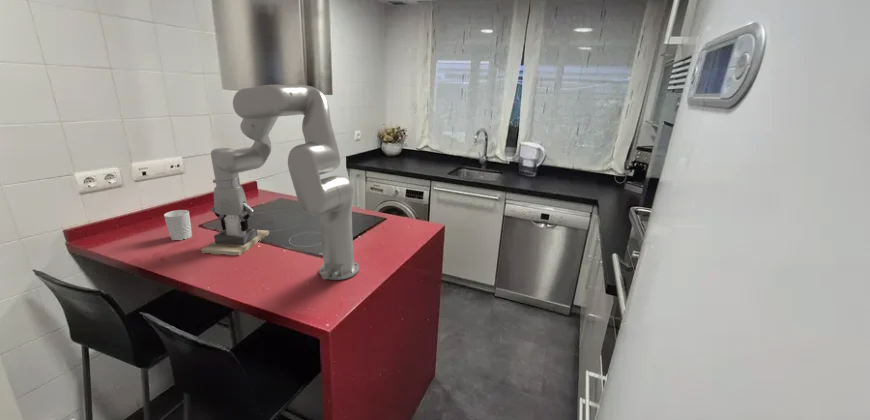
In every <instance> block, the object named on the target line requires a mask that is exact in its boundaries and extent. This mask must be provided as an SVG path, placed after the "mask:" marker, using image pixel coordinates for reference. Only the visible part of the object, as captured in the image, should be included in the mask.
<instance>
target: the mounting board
mask: <svg viewBox="0 0 870 420" xmlns="http://www.w3.org/2000/svg"><path fill="white" fill-rule="evenodd" d="M245 231H246V234H245V235H243V236H228V235H227V233H226V230H223V229H222V231H220V232H218V233H216V234H215V235H213V237H214V241H213V242H211V243H209V244H207V245H206V246H205V247H203V248H201V249H200V251H201V253H202V254H204V253H211V254H210V255H220V254H226V255H225V256H235V255H239V256H240V257H241V256H242V255H243V254H244V253H246V252H247V251H248V250H250V249H251V248H252V247H254V246H255V245H256V244H258V243H259V242H260V241H262V240H263V239H265V238H266V237H267V236H268V235H270V231H269V230H268V229H267V230H266V229H265V230H264V229H263V230H262V229H257V228H253V227H252V228H251V227H248V229H247V230H245ZM265 236H266V237H265ZM262 238H263V239H262ZM261 239H262V240H261ZM259 240H260V241H259ZM258 241H259V242H258ZM257 242H258V243H257ZM254 244H255V245H254ZM253 245H254V246H253ZM249 248H250V249H249ZM246 250H247V251H246ZM245 251H246V252H245ZM242 253H243V254H242Z"/></svg>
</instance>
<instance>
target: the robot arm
mask: <svg viewBox="0 0 870 420" xmlns="http://www.w3.org/2000/svg"><path fill="white" fill-rule="evenodd" d="M232 107H233V111H234V112H235V114H236V115H237V116H238V117H240V118H242V120H241V123H240V131H241V132H242V134H243V135H245V136H246V137H247V138H249V139H251V140H253V141H254V142H253V144H252V145H251V146H250V147H246V148H241V149H235V150H234V149H233V148H231V147H218V148H213V149H212V150H211V152H210V156H211V157H210V158H211V159H210V160H211V162H212V170H213V174H214V179H212V183H213V184H215V187H213V188H214V189H213V202H214V203H213V204H214V205H213V206H212V207H211V208H210V211H211V212H212V213H214V215H215V216H216V217H217V218H218V221H220V225H221V228H222V231H223V230H226V227H225V221H224V218H225V217H227V216H228V215H238V216H239V220H241V221H240V226H241V230H242V231H243V232H244V231H245V230H247V229H248V228H249V222H248V221H249V218H250V217H251V216H252V215H253V214H254V212H255V210H254V209H253V208H252V207H251V206H250V205H249V204H248V201H247V197H246V194H245V190H244V188H243V186H242V185H241V181H240V175H239V173H240V174H241V173H245V172H247V171H252V170H256V169H260V168H261V167H263V166H264V164H266V162H267V160H268V158H269V156H270V155H271V152H272V142H271V139H270V137H269V135H270V133H271V132H272V129H273V127H274V125H275V123H276V122H277V121H278V118H279V117H287V116H298V115H299V116H300V115H303V118H302V124H301V131H302V134H303V139H304V143H301V144H300V143H299V144H297V145H295V146H294V147H292V148H291V149H290V151H289V153H288V157H287V166H288V167H287V168H288V171H289V176H290V177H291V178H290V179H291V182H292V185H293V189H294V191H295V195H296V198H297V201H298V204H299V206H300V208H301V210H302V211H303V212H304V213H305V214H306V215H309V216H310V217H319V216H320V221H319V222H320V235H321V245H322V249H321V250H322V260H323V264H322V265H321V266H320V267H319V270H318V273H319V275H320V277H321V279H322V280H330V281H331V280H332V281H340V280H346V279H349V278H352V277H354V276H356V274H357V273H358V272H359V270H360V265H359V264H358V263H357V261H355V259H354V258H355V257H354V240H353V239H354V238H353V215H352V213H353V212H352V210H353V204H354V203H353V201H354V195H355V194H354V192H355V191H354V187H353V184H352V183H351V180H349V179H348V178H347V177H345V176H343V175H331V176H328V177H324V178H321V175H324V174H328V173H330V172H333V171H335V170H337V169H338V168H339V166H340V165H341V156H340V152H339V148H338V144H337V140H336V136H335V132H334V131H335V130H334V127H333V126H332V125H333V124H332V122H331V121H332V120H331V115H330V113H331V112H330V108H329V103H328V99H327V98H326V96H325V95H324V93H322V91H320V89H318V88H316V87H313V86H311V85H305V84H265V85H259V86H251V87H245V88H241V89H239V90H237V92H236V93H235V94H234V96H233V98H232Z"/></svg>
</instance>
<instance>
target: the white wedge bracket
mask: <svg viewBox="0 0 870 420" xmlns="http://www.w3.org/2000/svg"><path fill="white" fill-rule="evenodd" d="M224 221H225V227H226V233H227V235H228V236H243V235H245V234H246V231H244V232H243V231H242V230H241V224H240V222H241V221H240V217H239V216H238V215H227V216H226V217H225V218H224Z"/></svg>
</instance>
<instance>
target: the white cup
mask: <svg viewBox="0 0 870 420" xmlns="http://www.w3.org/2000/svg"><path fill="white" fill-rule="evenodd" d="M163 216H164V217H163V218H164V222H165V224H166V227H167V230H168V234H169V236H170V237H169V238H170V239H171V241H174V240H180V241H184V240H183V239H185V240H188V239H190V238H192V237H193V232H192V224H191V222H192V221H191V217H190V211H189V210H187V209H177V210H171V211H168V212H166V213H164V214H163ZM187 238H188V239H187Z"/></svg>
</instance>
